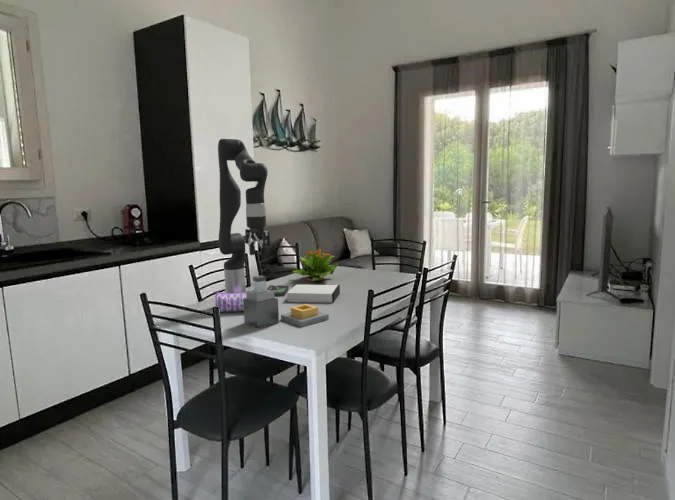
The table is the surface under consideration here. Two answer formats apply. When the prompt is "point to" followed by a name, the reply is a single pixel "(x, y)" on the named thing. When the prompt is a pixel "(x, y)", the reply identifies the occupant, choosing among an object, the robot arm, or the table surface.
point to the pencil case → (230, 301)
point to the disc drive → (313, 293)
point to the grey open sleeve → (260, 309)
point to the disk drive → (279, 289)
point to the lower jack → (304, 315)
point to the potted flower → (316, 266)
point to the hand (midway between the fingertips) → (258, 256)
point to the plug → (259, 284)
